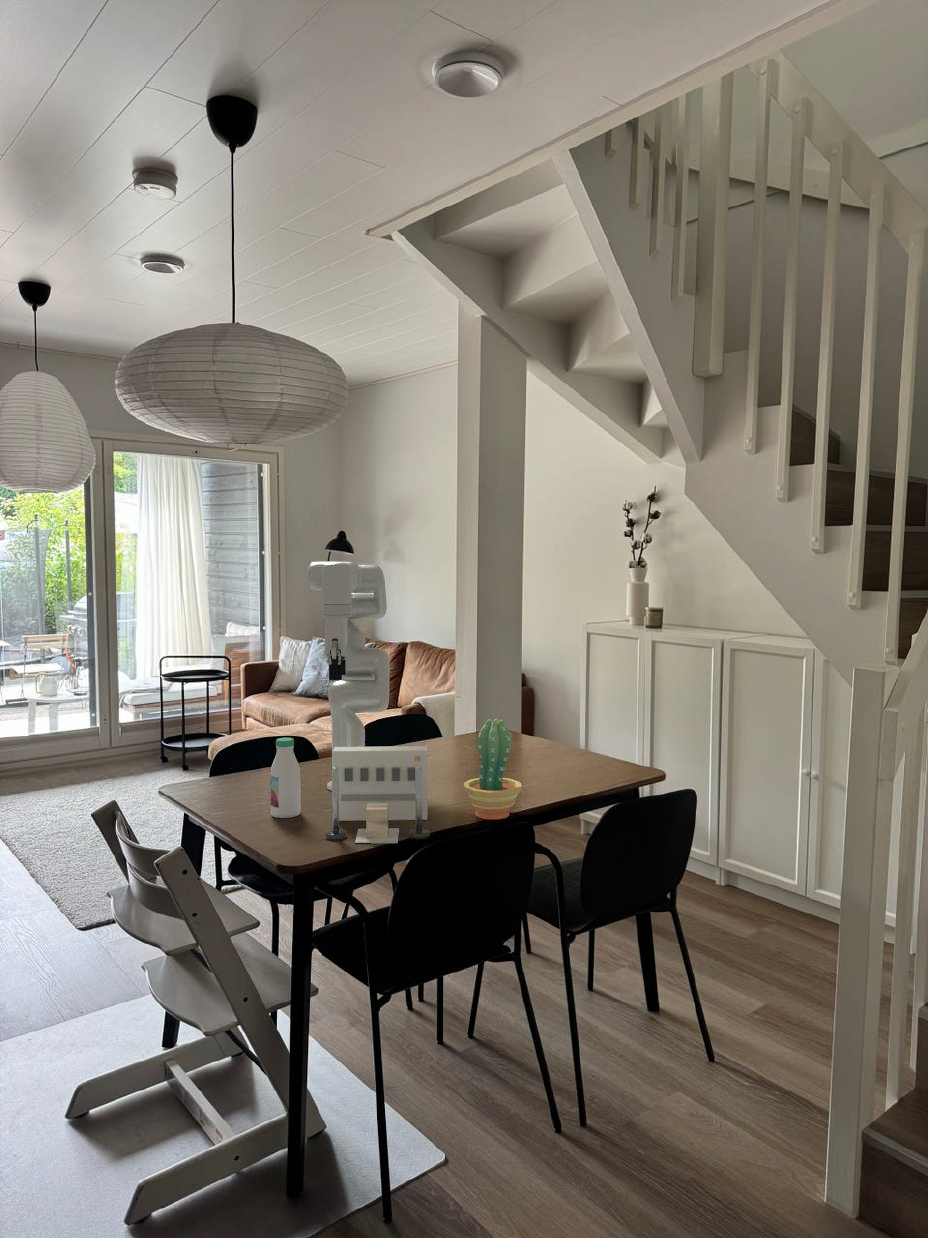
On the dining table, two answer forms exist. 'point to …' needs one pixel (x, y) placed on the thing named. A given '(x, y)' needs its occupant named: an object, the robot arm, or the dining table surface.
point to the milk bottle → (285, 781)
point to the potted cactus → (493, 773)
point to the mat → (392, 838)
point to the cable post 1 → (335, 809)
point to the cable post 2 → (418, 808)
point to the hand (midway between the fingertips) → (337, 677)
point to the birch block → (377, 820)
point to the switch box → (380, 780)
